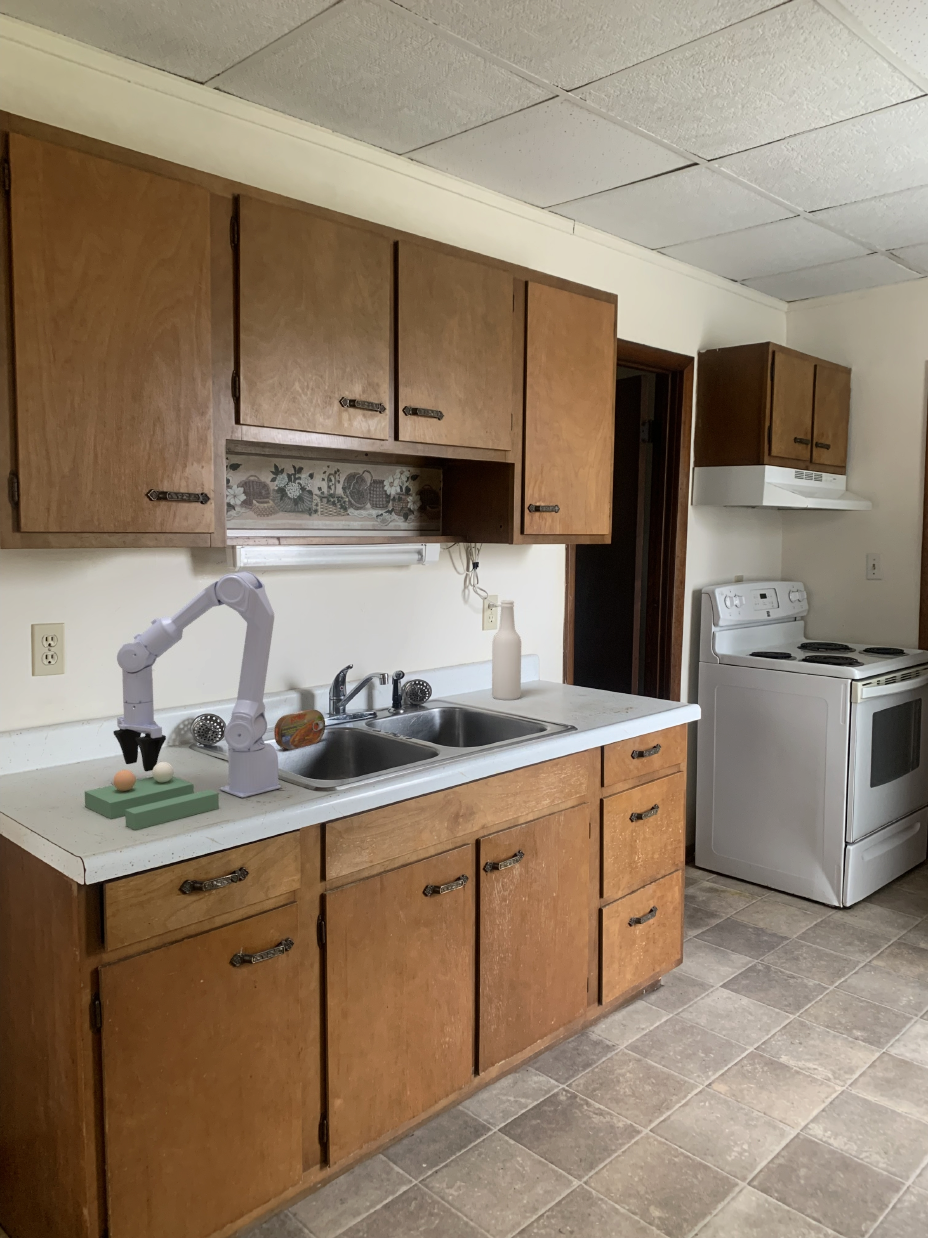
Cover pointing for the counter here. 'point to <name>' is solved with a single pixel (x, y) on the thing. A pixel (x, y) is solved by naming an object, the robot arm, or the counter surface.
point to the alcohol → (506, 657)
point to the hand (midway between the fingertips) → (140, 766)
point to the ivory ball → (162, 772)
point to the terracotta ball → (124, 780)
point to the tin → (299, 729)
